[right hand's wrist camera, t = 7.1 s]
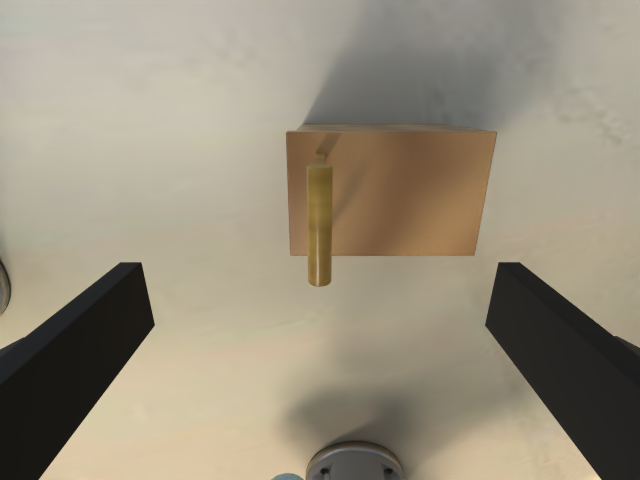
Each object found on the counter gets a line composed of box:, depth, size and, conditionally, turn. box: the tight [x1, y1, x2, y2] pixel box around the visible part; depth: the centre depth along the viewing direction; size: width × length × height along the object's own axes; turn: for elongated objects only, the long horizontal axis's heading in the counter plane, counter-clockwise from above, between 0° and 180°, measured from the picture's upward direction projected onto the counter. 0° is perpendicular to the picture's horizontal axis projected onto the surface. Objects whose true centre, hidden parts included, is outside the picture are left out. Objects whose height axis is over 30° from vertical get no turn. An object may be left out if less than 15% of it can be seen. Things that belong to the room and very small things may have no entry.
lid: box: [286, 131, 497, 286], centre depth 23 cm, size 15×10×9 cm, turn 90°
